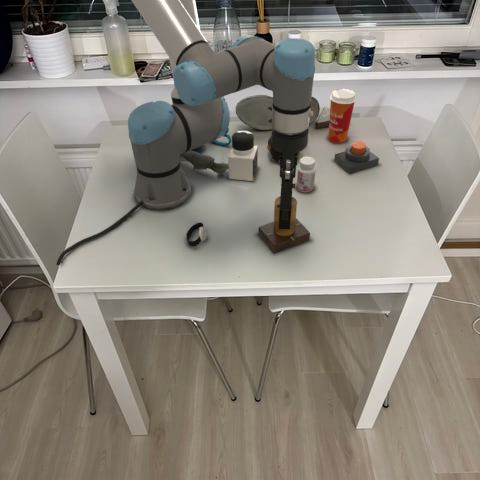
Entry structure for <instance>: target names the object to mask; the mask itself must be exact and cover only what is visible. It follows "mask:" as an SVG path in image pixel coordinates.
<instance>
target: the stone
mask: <svg viewBox="0 0 480 480" xmlns="http://www.w3.org/2000/svg"><path fill="white" fill-rule="evenodd" d="M329 120H330V107H328V106H324V107H323V108H322V110H321V112H320V113H319V115H318V117H317V119H316V122H315V128H316V129H319V128H324V127H329Z"/></svg>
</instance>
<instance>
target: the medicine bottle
mask: <svg viewBox="0 0 480 480" xmlns="http://www.w3.org/2000/svg"><path fill="white" fill-rule="evenodd" d="M258 151H259V147H258V145H255V136H254V134H253V133H252V132H251V131H249V130H238V131H236V132H234V133H233V134H232V135H231V150H230V151H229V153H228V155H227V156H228V157H227V162H228V163H227V164H228V165H229V169H228V179H229V180H237V181H248V182H254V180H255V177H256V174H257V171H258V167H259V166H258V165H259V161H258V160H259V159H258V157H259V152H258Z"/></svg>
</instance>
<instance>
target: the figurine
mask: <svg viewBox="0 0 480 480" xmlns="http://www.w3.org/2000/svg"><path fill="white" fill-rule="evenodd" d="M308 135H309V133H308ZM271 142H272V135H270V136H269V138H268V140H267V145H266V146H267V147H266V149H267V151H268V153H270V156H271V159H272V160H273V161H276V160H277V161H279V156H280V151H277V150H275V149H274V148H273V146H272V143H271ZM299 155H300V152H298V156H299Z"/></svg>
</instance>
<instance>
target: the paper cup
mask: <svg viewBox="0 0 480 480" xmlns="http://www.w3.org/2000/svg"><path fill="white" fill-rule="evenodd" d="M329 99H330V107H329V108H330V120H329V126H328V140H329V141H330V142H332V143H334V144H342V143H344V142H346V141H347V138H348V133H349V129H350V125H351V121H352V116H353V111H354V106H355V102H356V101H357V97H356V92H355V90H352V89H350V88H349V89H348V88H338V89H336V90H333V91H332V92H331V94H330V96H329Z"/></svg>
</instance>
